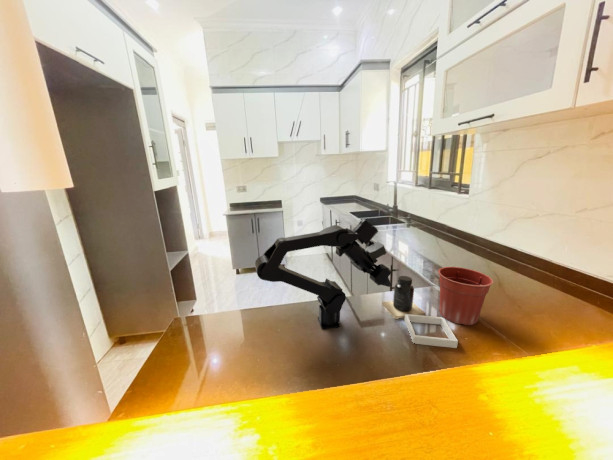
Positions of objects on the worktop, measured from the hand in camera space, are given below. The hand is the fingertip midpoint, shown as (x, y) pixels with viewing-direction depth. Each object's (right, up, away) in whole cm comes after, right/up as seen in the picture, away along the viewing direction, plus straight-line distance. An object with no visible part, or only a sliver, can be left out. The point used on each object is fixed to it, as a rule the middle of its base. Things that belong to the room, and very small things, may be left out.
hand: (382, 280), depth 90 cm
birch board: (+9, -13, +6) cm, 17 cm away
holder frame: (+13, -16, -8) cm, 22 cm away
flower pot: (+28, -14, +2) cm, 32 cm away
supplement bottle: (+9, -12, +5) cm, 16 cm away
